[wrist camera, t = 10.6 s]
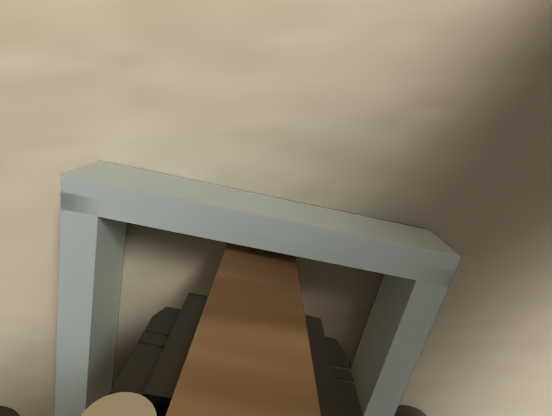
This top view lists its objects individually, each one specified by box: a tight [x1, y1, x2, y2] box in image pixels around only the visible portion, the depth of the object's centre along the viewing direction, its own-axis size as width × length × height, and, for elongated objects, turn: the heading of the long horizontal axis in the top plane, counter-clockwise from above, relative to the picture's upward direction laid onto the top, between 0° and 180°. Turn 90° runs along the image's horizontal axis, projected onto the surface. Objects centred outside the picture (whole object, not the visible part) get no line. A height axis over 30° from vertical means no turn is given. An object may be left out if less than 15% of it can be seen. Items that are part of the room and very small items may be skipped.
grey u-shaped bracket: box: [54, 161, 462, 416], centre depth 14 cm, size 12×13×2 cm
